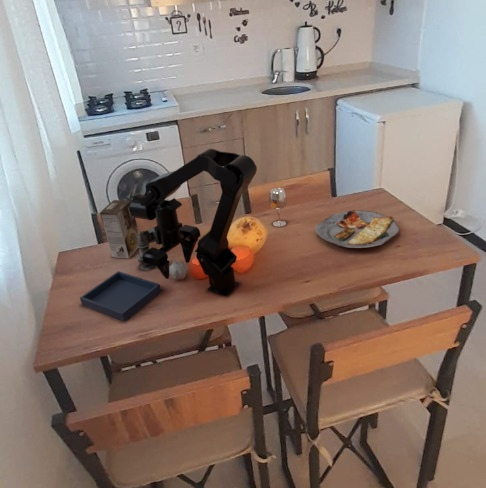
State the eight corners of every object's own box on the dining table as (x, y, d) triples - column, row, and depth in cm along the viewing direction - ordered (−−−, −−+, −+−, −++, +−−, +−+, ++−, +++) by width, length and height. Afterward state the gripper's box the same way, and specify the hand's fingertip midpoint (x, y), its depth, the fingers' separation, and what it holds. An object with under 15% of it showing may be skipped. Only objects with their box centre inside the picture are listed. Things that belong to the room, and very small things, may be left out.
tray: (161, 291, 130) (160, 284, 128) (124, 321, 120) (122, 313, 118) (120, 278, 138) (118, 271, 137) (82, 305, 128) (79, 297, 127)
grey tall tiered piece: (153, 271, 139) (145, 235, 133) (135, 270, 141) (126, 235, 135) (160, 260, 144) (153, 226, 138) (143, 260, 146) (134, 226, 140)
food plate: (347, 210, 161) (347, 200, 159) (411, 227, 146) (412, 217, 144) (302, 239, 146) (302, 229, 145) (368, 262, 131) (368, 251, 130)
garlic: (167, 274, 137) (164, 259, 134) (185, 269, 138) (182, 254, 136) (172, 284, 132) (169, 269, 129) (191, 279, 133) (188, 264, 131)
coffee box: (125, 243, 156) (113, 199, 148) (142, 244, 155) (131, 199, 147) (111, 257, 149) (98, 212, 141) (129, 258, 147) (117, 212, 139)
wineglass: (269, 221, 160) (267, 188, 154) (286, 218, 160) (284, 186, 154) (272, 228, 155) (269, 195, 149) (289, 226, 155) (287, 192, 149)
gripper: (167, 203, 137) (176, 249, 145) (121, 231, 124) (134, 280, 132) (197, 209, 131) (205, 256, 139) (152, 239, 118) (164, 290, 126)
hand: (177, 270), depth 134 cm, fingers open, 9 cm apart
